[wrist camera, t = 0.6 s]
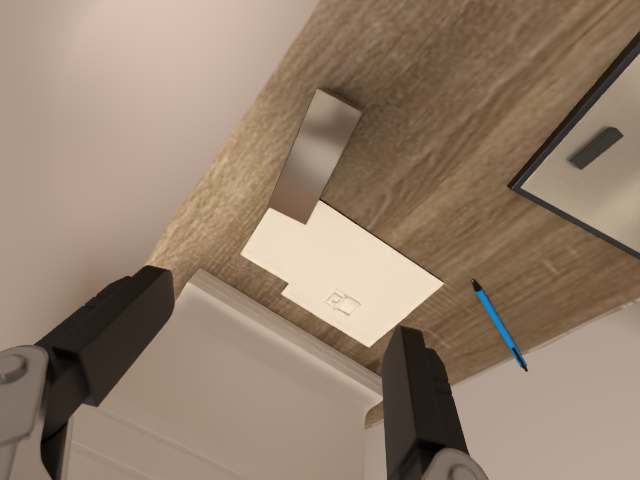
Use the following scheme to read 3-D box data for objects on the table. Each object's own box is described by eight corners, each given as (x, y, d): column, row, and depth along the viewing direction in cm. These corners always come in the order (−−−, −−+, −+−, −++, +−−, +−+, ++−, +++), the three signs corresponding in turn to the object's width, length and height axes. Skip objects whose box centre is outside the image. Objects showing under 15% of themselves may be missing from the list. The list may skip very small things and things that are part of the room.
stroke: (610, 126, 27) (616, 127, 27) (618, 134, 27) (624, 135, 27) (568, 161, 29) (573, 163, 28) (576, 168, 29) (581, 170, 29)
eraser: (324, 87, 30) (316, 87, 25) (362, 108, 30) (363, 112, 25) (281, 188, 35) (267, 206, 30) (313, 205, 36) (305, 225, 31)
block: (181, 299, 47) (-17, 535, 23) (200, 267, 43) (-11, 507, 19) (354, 399, 53) (345, 669, 29) (384, 378, 50) (402, 668, 25)
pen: (521, 368, 44) (525, 375, 43) (468, 279, 38) (470, 284, 37) (528, 366, 44) (532, 373, 43) (474, 276, 38) (477, 281, 37)
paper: (450, 276, 38) (452, 281, 37) (373, 349, 46) (373, 354, 45) (282, 174, 35) (280, 177, 34) (230, 272, 43) (227, 276, 42)
